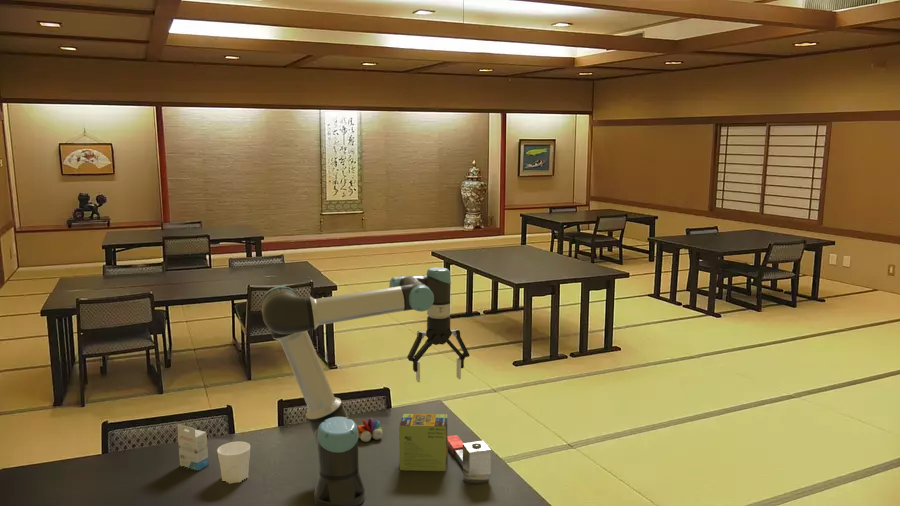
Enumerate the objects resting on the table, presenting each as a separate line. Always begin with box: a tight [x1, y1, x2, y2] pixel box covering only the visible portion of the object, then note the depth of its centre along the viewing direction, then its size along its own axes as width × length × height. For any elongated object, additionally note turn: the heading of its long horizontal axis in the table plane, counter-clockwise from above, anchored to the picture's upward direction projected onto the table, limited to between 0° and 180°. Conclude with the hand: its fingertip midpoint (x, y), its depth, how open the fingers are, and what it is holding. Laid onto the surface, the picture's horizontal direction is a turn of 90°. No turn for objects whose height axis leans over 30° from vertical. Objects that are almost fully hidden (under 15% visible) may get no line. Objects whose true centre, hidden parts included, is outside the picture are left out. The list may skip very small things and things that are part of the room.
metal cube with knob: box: [462, 440, 492, 477], centre depth 216 cm, size 7×7×8 cm
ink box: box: [176, 423, 209, 472], centre depth 226 cm, size 8×5×15 cm, turn 62°
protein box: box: [398, 413, 449, 472], centre depth 227 cm, size 10×15×16 cm
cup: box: [216, 441, 251, 485], centre depth 218 cm, size 10×10×10 cm
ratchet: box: [448, 434, 490, 485], centre depth 228 cm, size 8×31×8 cm, turn 17°
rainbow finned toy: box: [357, 417, 384, 443], centre depth 248 cm, size 8×10×7 cm
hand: (438, 379), depth 224 cm, fingers open, 13 cm apart
